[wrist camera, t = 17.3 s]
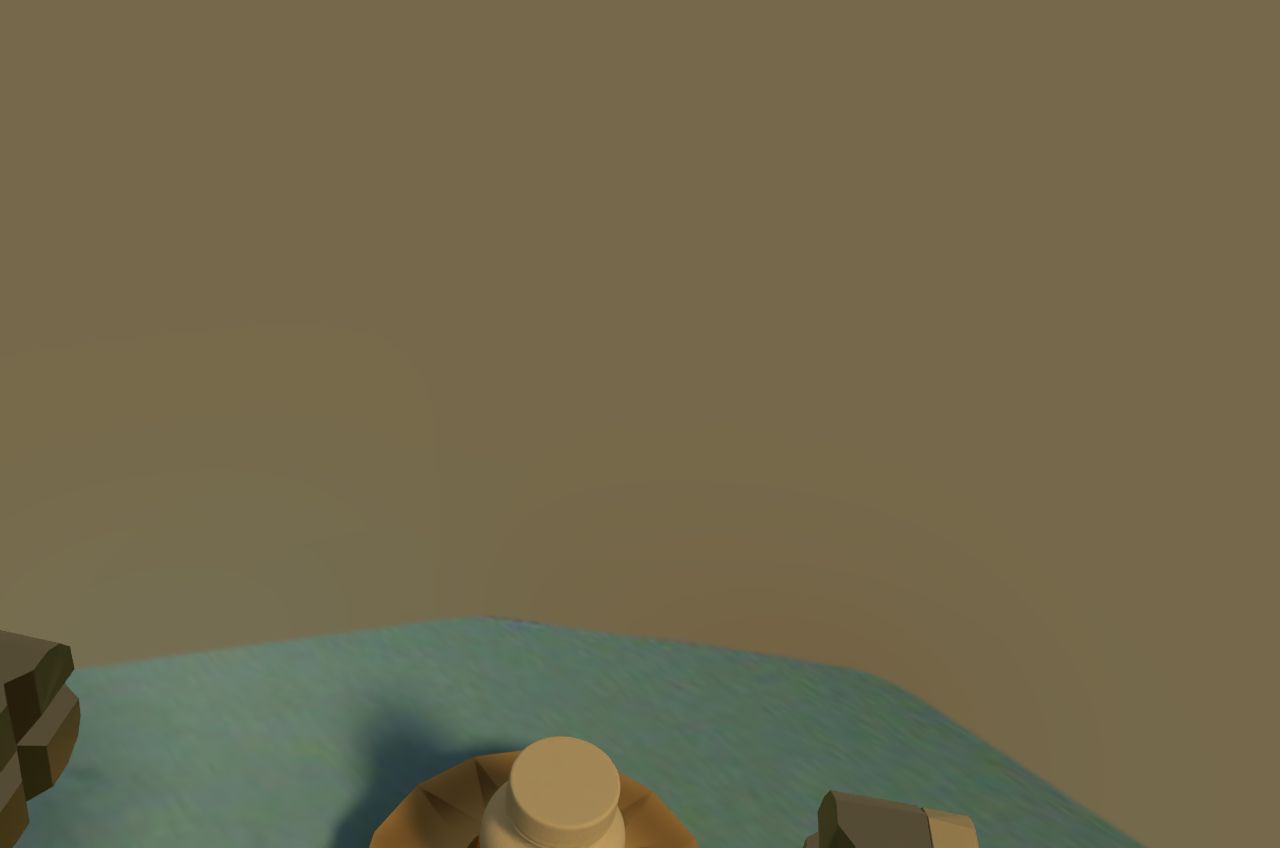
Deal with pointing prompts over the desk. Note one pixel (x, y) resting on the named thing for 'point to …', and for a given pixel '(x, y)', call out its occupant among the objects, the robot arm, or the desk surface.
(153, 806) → the desk surface
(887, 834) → the robot arm
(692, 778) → the desk surface
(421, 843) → the plain brown donut
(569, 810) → the supplement bottle
